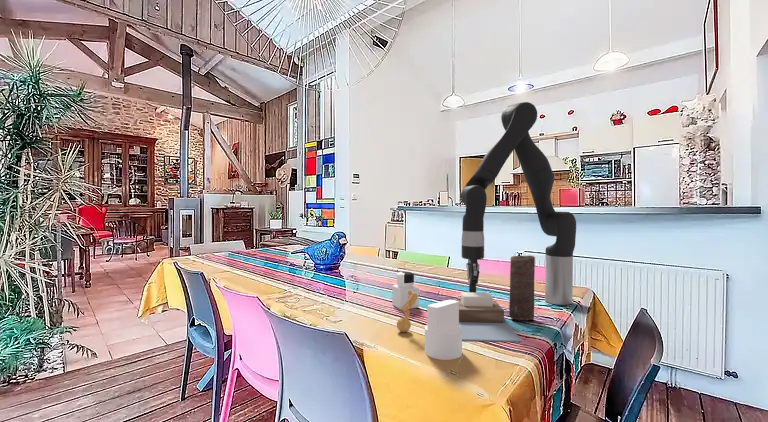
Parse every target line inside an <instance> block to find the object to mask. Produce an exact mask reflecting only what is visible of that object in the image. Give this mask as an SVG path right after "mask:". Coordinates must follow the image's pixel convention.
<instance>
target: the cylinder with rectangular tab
mask: <svg viewBox="0 0 768 422" xmlns="http://www.w3.org/2000/svg"><path fill="white" fill-rule="evenodd" d="M455 300H456V299H446V300H441V301H438V302H435V303H431V304H428V305H427V309H426V312H427V317H426V318H427V321H426V325H425V326H424V353H425V355H427V356H428V357H430V358H432V359H435V360H441V361H442V360H444V361H445V360H447V361H448V360H449V361H450V360H455V359H458V358H461V357H462V355H463V341H462V328H461V327H460V326H459V301H455Z"/></svg>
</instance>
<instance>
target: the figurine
mask: <svg viewBox="0 0 768 422" xmlns="http://www.w3.org/2000/svg"><path fill="white" fill-rule="evenodd" d="M408 294H409V297H408V301H407V302H406V304H405V305H404V306H403V308H402V309H401V310H400V311H401V312H403V314H405V316H404V317H400V318H399V319H398V320H397V322H396V328H397V330H398V331H399V332H401V333H407V332H409V331H410V330H411V326H412V323H411V321H410V320H409V317H410V313H411V311H410V310H411V309H412V308H411V307H412V306H413V304H415V301H416V299H417V294H416V293H413V292H412V291H410V290H409V291H408ZM408 302H409V303H408ZM407 304H408V305H407ZM406 305H407V306H406ZM405 306H406V307H405ZM404 307H405V308H404ZM410 308H411V309H410Z"/></svg>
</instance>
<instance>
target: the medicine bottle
mask: <svg viewBox="0 0 768 422" xmlns="http://www.w3.org/2000/svg"><path fill="white" fill-rule="evenodd" d="M414 284H415V274H414V272H411V271H399V272H398V273H396V284H392V286H391V287H392V289H391V290H392V295H391V296H392V301H391V302H392V306H394V307H396V308H397V309H398V310H400V311H401V309H402V308H403V306H404V305H405V304H406V302H407V301H408V297H409V294H408V291H409V290H410V291H412V292H413V293H416V294H417V299H416V301H415V304H413V306H412V307H411V308H410V309H409V310H411V309H417V308H419V307H420V306H419V296H420V295H419V289H420V288H419V287H418V286H415V285H414ZM408 303H409V302H408ZM407 305H408V304H407ZM407 305H406V306H407ZM406 306H405V307H406ZM405 307H404V308H405Z"/></svg>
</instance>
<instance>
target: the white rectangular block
mask: <svg viewBox="0 0 768 422" xmlns="http://www.w3.org/2000/svg"><path fill="white" fill-rule="evenodd" d="M493 298H494V297H493V296H492V295H491V293H490V292H477V291H476V292H469V291H467V292H465V291H463V292H462V291H461V293H460V300H461V302H462V304H463V306H486V307H493V301H494V300H493Z"/></svg>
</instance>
